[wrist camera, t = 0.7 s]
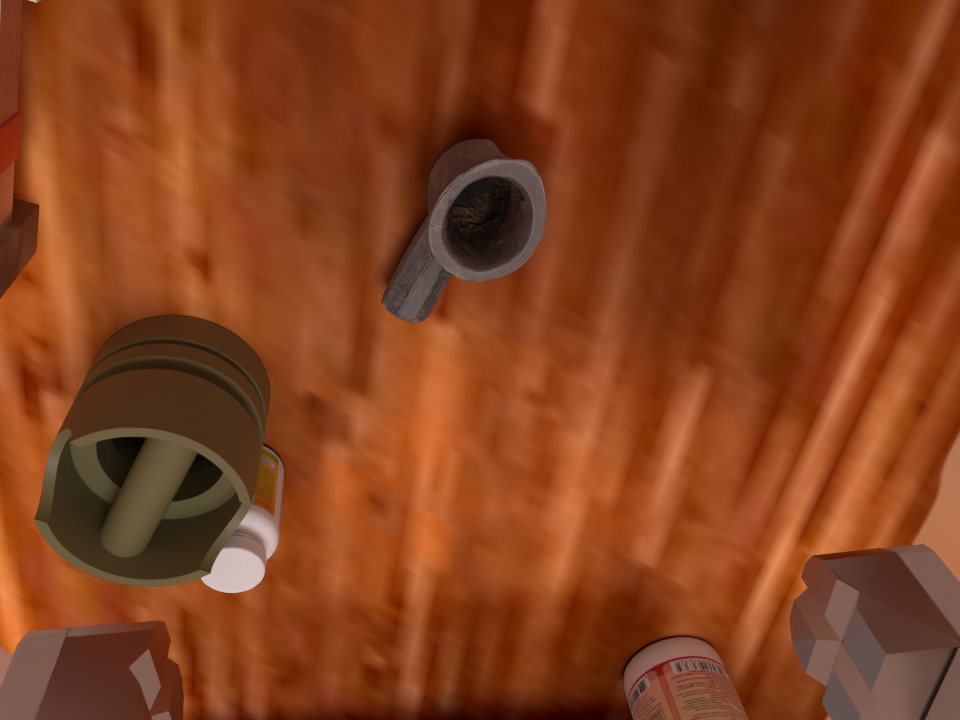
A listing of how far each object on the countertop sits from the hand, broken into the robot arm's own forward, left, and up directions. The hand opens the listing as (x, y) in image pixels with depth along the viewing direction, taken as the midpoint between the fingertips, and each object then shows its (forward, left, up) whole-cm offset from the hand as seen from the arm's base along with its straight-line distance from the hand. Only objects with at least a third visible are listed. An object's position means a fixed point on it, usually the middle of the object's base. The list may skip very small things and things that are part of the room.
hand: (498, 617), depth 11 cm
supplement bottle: (+32, -2, -41) cm, 52 cm away
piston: (+26, -7, -41) cm, 49 cm away
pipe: (+9, +7, -41) cm, 43 cm away
